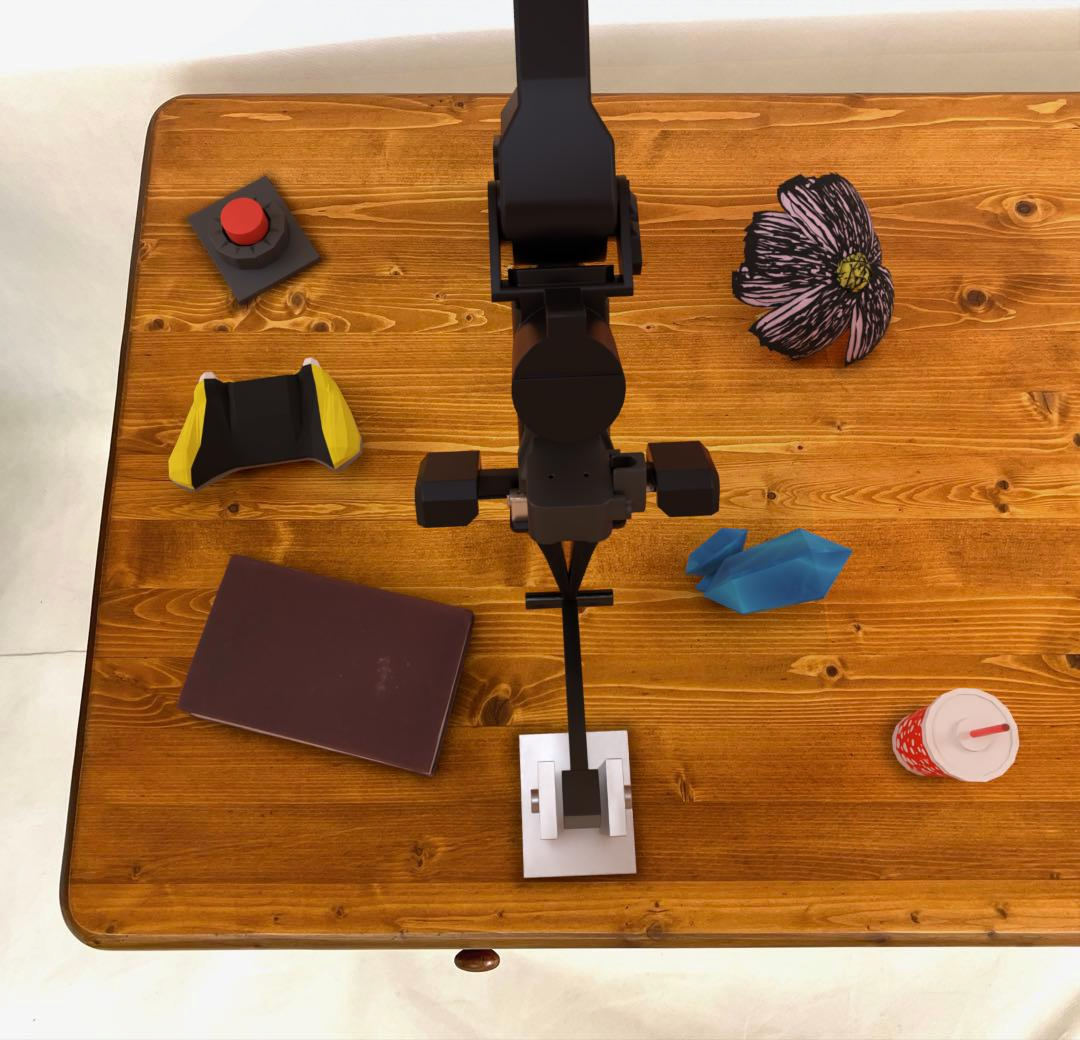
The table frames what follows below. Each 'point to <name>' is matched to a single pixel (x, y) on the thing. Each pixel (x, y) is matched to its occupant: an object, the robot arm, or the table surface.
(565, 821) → the lever
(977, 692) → the beverage cup
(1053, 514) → the table surface
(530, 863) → the bracket
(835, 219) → the decorative flower
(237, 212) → the button
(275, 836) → the table surface
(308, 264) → the control block
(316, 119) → the table surface
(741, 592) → the crystal
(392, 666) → the book
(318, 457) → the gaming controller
